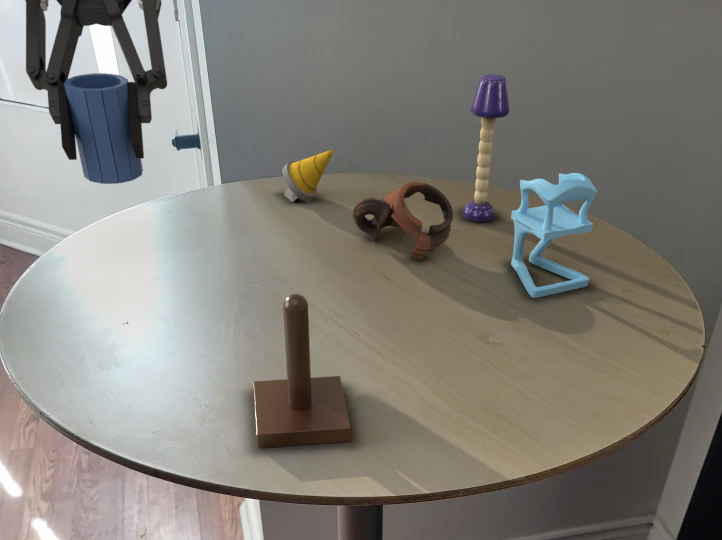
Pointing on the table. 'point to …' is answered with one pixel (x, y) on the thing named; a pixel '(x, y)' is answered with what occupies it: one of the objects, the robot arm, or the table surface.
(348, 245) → the table surface
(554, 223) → the chair
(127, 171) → the blue fluted tube
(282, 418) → the stand
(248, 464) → the table surface
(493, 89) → the toy lamp
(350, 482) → the table surface
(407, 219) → the brown looped strap
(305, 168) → the drill bit
